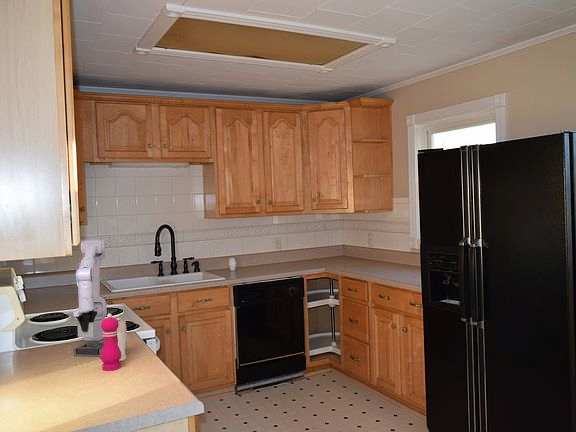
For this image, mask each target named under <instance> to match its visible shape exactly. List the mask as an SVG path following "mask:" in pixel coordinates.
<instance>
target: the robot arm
mask: <svg viewBox="0 0 576 432" xmlns="http://www.w3.org/2000/svg"><path fill="white" fill-rule="evenodd" d="M80 252H81V255H82V259H81V260H80V264H79V267H78V269H76V271H75V279H76V287H77V294H78V307H76V310H75V311H73V317H75V318H76V319H77V320H78V323H80V326H81V329H82V332H87V331H88V325H89V322H96V324H97V336H95V337H83V338H82V341H88V342H90V341H91V342H92V341H93V342H95V341H96V342H99V341H102V340H104V336H103V332H104V331H103V330H102V328H101V323H102V321H103V320H104V319H106V318H107V315H108V313H107V311H108V310H107V301H106V299H105V298H103V297H102V296H101V294H100V292H101V291H100V290H101V289H100V288H101V287H100V286H101V262H102V260H103V259H105V257H106V241H105V240H104V239H93V240H92V239H88V240H84V239H83V240H81V241H80Z"/></svg>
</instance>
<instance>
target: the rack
mask: <svg viewBox="0 0 576 432" xmlns="http://www.w3.org/2000/svg"><path fill="white" fill-rule="evenodd" d="M103 346H104V342H95V341H93V342H92V341H91V342H90V341H88V342H85V343H83V344H80V345H78V346H77V347H74V348H73V356H74V357H84V358H85V357H89V358H100V356H101V352H102V349H103Z"/></svg>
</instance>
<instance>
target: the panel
mask: <svg viewBox="0 0 576 432" xmlns="http://www.w3.org/2000/svg"><path fill="white" fill-rule="evenodd" d="M76 325H77V337H79V338H87V337H95V336H97V324H96V322H89V325H88V331H87V332H82V329H81V326H80V323H79V322H78V323H77V324H76Z"/></svg>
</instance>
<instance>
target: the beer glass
mask: <svg viewBox="0 0 576 432" xmlns="http://www.w3.org/2000/svg"><path fill="white" fill-rule="evenodd" d="M116 319H117V320H118V323H119V326H118V328H117V329H116V330H117V335H116V340H117V344H118V346H119V348H120V351H121V355H122V356H121V359H120V360H119V362H122V361H125V360H126V359H127V355H126V341H127V322H126V319H125V318H116Z"/></svg>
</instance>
